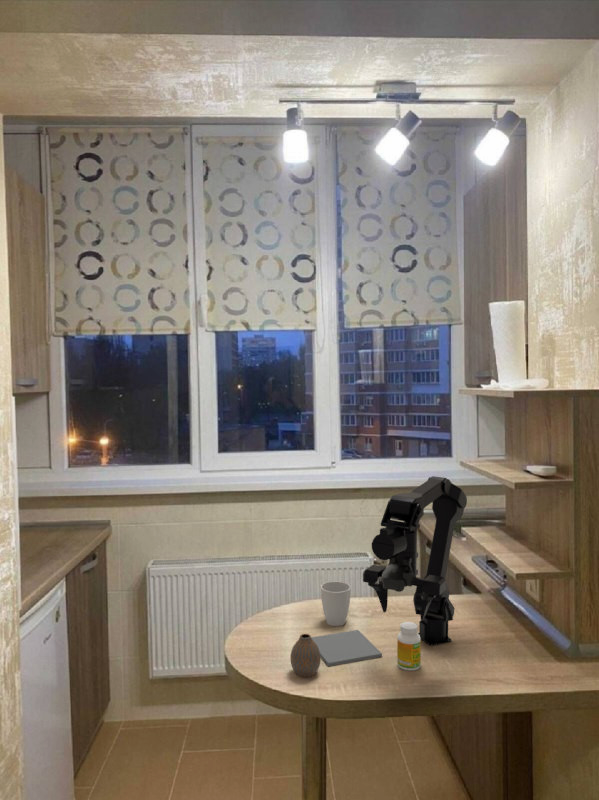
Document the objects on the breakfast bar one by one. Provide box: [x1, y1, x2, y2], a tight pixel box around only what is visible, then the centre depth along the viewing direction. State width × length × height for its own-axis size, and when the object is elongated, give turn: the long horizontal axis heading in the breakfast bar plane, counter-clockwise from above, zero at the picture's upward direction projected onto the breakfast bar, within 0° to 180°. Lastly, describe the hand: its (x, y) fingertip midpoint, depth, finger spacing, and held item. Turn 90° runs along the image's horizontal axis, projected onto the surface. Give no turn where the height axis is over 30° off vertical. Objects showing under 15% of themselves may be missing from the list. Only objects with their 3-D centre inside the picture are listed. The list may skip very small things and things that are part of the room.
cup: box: [320, 580, 351, 627], centre depth 168 cm, size 8×8×10 cm
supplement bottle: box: [396, 621, 422, 672], centre depth 144 cm, size 5×5×10 cm
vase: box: [290, 633, 322, 678], centre depth 141 cm, size 7×7×9 cm
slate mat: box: [311, 629, 383, 667], centre depth 153 cm, size 14×14×1 cm
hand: (403, 615), depth 143 cm, fingers open, 9 cm apart
